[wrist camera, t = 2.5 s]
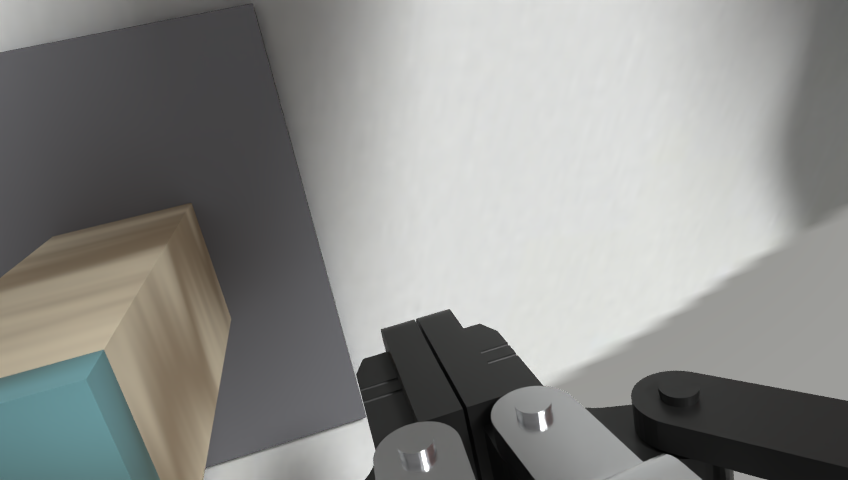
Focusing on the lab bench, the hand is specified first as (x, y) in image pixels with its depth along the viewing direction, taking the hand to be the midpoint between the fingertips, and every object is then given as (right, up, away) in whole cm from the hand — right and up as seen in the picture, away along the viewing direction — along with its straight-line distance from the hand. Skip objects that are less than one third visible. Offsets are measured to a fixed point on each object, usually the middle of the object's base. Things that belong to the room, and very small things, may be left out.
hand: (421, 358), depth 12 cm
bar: (-10, +1, +8) cm, 13 cm away
